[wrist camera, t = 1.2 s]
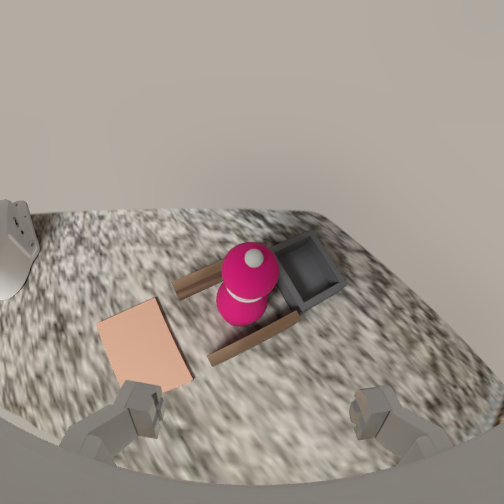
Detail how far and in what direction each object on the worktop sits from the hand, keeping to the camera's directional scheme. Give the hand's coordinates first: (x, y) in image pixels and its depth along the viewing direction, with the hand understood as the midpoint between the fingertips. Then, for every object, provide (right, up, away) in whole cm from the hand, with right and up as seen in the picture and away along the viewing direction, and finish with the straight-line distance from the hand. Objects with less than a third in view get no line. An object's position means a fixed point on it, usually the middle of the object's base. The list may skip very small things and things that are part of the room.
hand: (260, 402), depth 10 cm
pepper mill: (-2, -3, +34) cm, 34 cm away
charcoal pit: (+8, +2, +37) cm, 38 cm away
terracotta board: (-17, -9, +29) cm, 35 cm away
